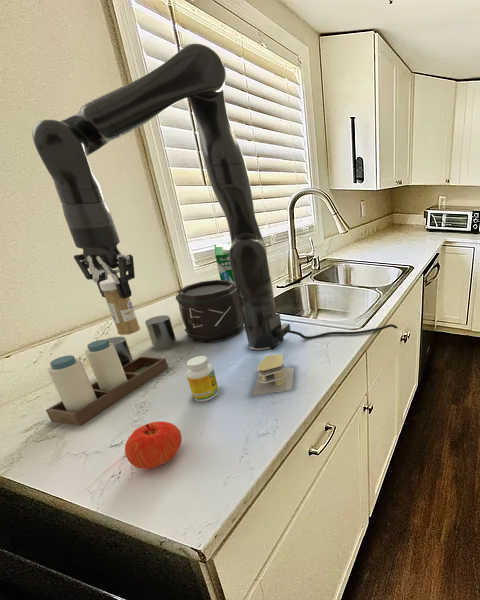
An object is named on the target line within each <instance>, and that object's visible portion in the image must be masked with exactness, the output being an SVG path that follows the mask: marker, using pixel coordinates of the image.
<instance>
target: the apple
mask: <svg viewBox="0 0 480 600" xmlns="http://www.w3.org/2000/svg"><path fill="white" fill-rule="evenodd" d="M182 439H183V436H182V432H181V430H180V429H179V428H178V427H177V426H176V425H175V424H174V423H171V422H168V421H161V420H160V421H153V422H148V423H146V424H143V425H141V426H139V427H137V428H136V429H135V430H134V431H132V433H131V434H130V436H129V437H128V439H127V440H126V442H125V446H124V454H125V457H126V460H127V461H128V463H130V465H132V466H133V467H135V468H136V469H140V470H141V469H142V470H147V469H148V470H149V469H154V468H157V467H160V466H162V465H164V464H166V463H167V462H169V461H170V460H172V459H173V458H174V457H175V456H176V454H177V453H178V451H179V449H180V448H181V445H182V441H183V440H182Z"/></svg>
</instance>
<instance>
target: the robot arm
mask: <svg viewBox="0 0 480 600" xmlns="http://www.w3.org/2000/svg"><path fill="white" fill-rule="evenodd" d="M226 74H227V73H226V67H225V65H224V62H223V60H222V59H221V57H220V56H219V54H218V53H217V52H215V50H213V49H212V48H211V47H209V46H207V45H205V44H201V43H189V44H186V45H185V46H183V48H181V49H180V50H179V51H178V52H177V53H175V54H174V55H173V56H171V57H170V58H169V59H168V60H167V61H165V62H164V63H162V64H161V65H160V66H158V67H155V68H154V69H153V70H151V71H150V72H148V73H147V74H145V75H143V76H141V77H139V78H137V79H135V80H133V81H131V82H129V83H127V84H125V85H123V86H120V87H117V88H116V89H113V90H111V91H109V92H107V93H104V94H102V95H101V96H98V97H97V98H94V99H92V100H91V101H88V102H86V103H84V104H83V105H82V106H81V107H80V109H79V111H78V112H76V113H74V114H72V115H70V116H68V117H66V118H64V119H62V120H57V119H42V120H40V121H38V122H36V123H35V124H34V125H33V127H32V131H31V137H32V141H33V144H34V147H35V150H36V151H37V154H38V156H39V158H40V159H41V161H42V163H43V165H44V167H45V168H46V170H47V172H48V173H49V175H50V177H51V179H52V181H53V184H54V187H55V190H56V193H57V196H58V199H59V201H60V204H61V208H62V212H63V216H64V219H65V222H66V224H67V227H68V229H69V232H70V236H71V237H72V240H73V243H74V246H75V247H76V248H78V249H82V253H79V254H74V255H73V259H74V261H75V262H76V264H77V266H78V267H79V269H80V270H81V272H82V274H83V276H84V277H85V279H86V280H88V281H91V280H92V281H93V283H96V285H97V288H98V291H99V293H100V295H101V297H102V298H105V295H104V292H103V291H102V290H101V288H100V284H99V283H100V282H101V281H104V280H107V279H109V277H108V276H111V279H114V281H115V283H116V287H117V290H118V292H119V295H120V298H123V299H125V298H128V297H129V298H130V297H132V289H131V286H130V283H129V281H130V280H134V279H135V278H136V275H135V262H134V256H133V255H132V254H123V253H122V252H121V251H120V249H119V248H118V245H119V244H120V241H121V240H120V238H119V234H118V232H117V229H116V228H117V227H116V225H115V222H114V219H113V216H112V213H111V210H110V209H109V207H108V205H107V203H106V199H105V196H104V193H103V190H102V187H101V184H100V182H99V180H98V178H97V177H96V176H95V175H94V174H93V172H92V169H91V165H90V162H89V160H88V157H89V156H91V155H92V154H94V153H95V152H97V151H99V150H100V149H101V148H103V147H104V146H106V145H108V143H109V142H112V141H114V140H117V139H119V138H121V137H123V136H125V135H127V134H129V133H131V132H133V131H134V130H136V129H138V128H140V127H142V126H144V125H145V124H147V123H148V122H150V121H152V120H153V119H154V118H155V117H157V116H159V115H160V114H161V113H162V112H164V111H165V110H167V109H168V108H170V107H171V106H173V105H175V104H177V103H178V102H181V101H183V100H186V99H188V101H189V105H190V107H191V110H192V112H193V116H194V119H195V122H196V126H197V131H198V138H199V143H200V148H201V149H200V150H201V153H202V158H203V162H204V166H205V169H206V170H205V171H206V173H207V177H208V180H209V183H210V186H211V188H212V192H213V193H214V196H215V198H216V200H217V202H218V204H219V206H220V208H221V210H222V212H223V214H224V216H225V219H226V222H227V227H228V230H229V236H230V243H231V244H232V245H231V247H230V250H229V259H230V265H231V269H232V273H233V278H234V282H235V286H236V288H237V290H238V295H239V300H240V305H241V310H242V315H243V320H244V324H243V325H244V329H245V334H246V338H247V343H248V344H247V345H248V349H249V350H250V351H252V352H266V351H274V350H276V349H277V348H278V347H279V346H280V345H281V344H282V343H283V342H284V341H285V339H284V337H285V336H286V335H287V334H292V335H296V336H299V337H301V338H302V339H303V340H304V339H305V340H312V339H317V338H321V337H325V336H330V335H359V334H367V333H371V332H376V331H382V330H385V329H387V328H394V329H398V326H397V325H395V324H391V323H390V324H386V325H383V326H380V327H375V328H371V329H364V330H357V331H329V332H328V331H327V332H323V333H320V334H316V335H311V336H310V335H309V336H308V335H304V334H303V333H302V332H299V331H295V330H291V324H290V323H285V322H284V323H282V320H281V314H280V313H279V312H277V308H276V302H275V295H274V289H273V288H274V287H273V283H272V278H271V273H270V267H269V262H268V261H269V260H268V255H267V254H268V249H267V246H266V243H265V241H264V238H263V236H262V233H261V230H260V227H259V224H258V221H257V218H256V214H255V207H254V200H253V193H252V186H251V182H250V181H251V180H250V177H249V173H248V169H247V164H246V160H245V157H244V154H243V152H242V148H241V146H240V144H239V142H238V139H237V137H236V136H235V132H234V131H233V128H232V126H231V122H230V120H229V114H228V111H227V105H226V100H225V91H224V87H225V83H226V79H227V75H226ZM118 274H119V275H118Z"/></svg>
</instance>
